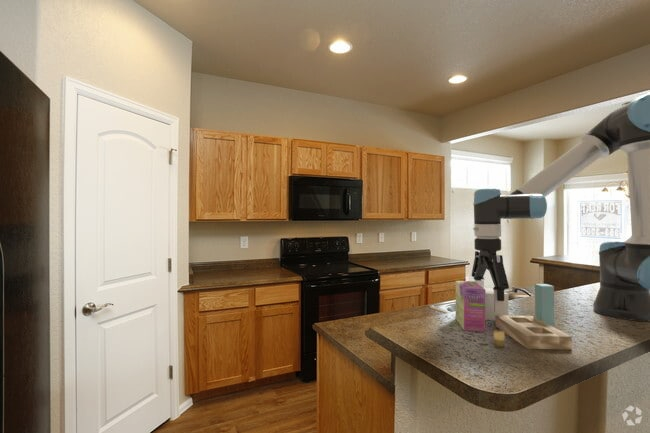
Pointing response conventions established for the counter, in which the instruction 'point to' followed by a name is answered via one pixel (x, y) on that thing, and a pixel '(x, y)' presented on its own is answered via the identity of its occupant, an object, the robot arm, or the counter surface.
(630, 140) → the robot arm
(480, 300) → the box
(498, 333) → the stub
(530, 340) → the socket board
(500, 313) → the white cube
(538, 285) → the peg
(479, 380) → the counter surface
